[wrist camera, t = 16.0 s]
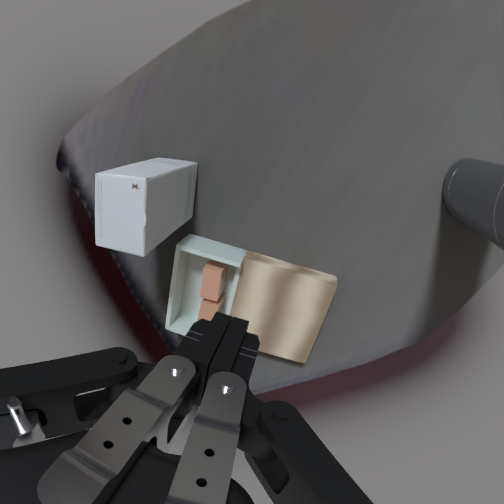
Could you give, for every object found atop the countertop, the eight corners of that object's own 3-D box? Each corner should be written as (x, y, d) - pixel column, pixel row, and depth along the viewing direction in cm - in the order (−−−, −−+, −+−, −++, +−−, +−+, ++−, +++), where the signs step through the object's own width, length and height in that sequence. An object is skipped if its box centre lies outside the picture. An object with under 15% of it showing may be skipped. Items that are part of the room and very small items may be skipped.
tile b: (218, 307, 43) (201, 301, 44) (211, 332, 45) (195, 326, 45) (226, 292, 48) (210, 287, 48) (219, 316, 49) (204, 311, 49)
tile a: (221, 272, 42) (203, 267, 42) (217, 301, 43) (199, 297, 43) (229, 259, 46) (212, 255, 46) (225, 287, 47) (209, 283, 48)
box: (248, 250, 45) (240, 263, 41) (227, 329, 50) (220, 347, 46) (189, 233, 46) (176, 244, 41) (177, 312, 51) (165, 328, 46)
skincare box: (158, 156, 43) (92, 168, 28) (202, 162, 42) (148, 175, 28) (153, 212, 46) (91, 246, 31) (195, 220, 45) (143, 259, 31)
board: (336, 276, 44) (337, 285, 41) (305, 352, 49) (305, 363, 47) (248, 250, 45) (243, 258, 42) (227, 329, 50) (223, 340, 48)
